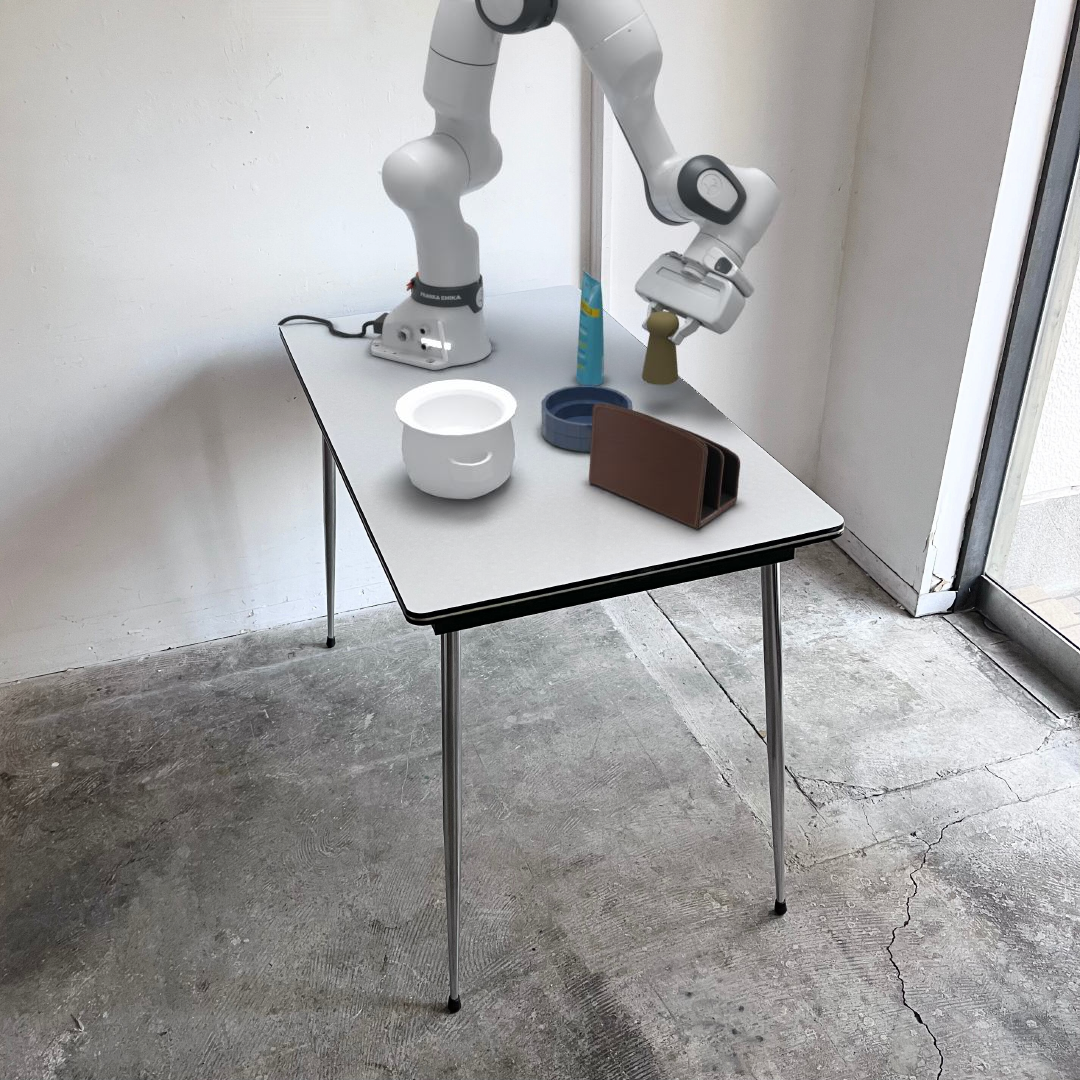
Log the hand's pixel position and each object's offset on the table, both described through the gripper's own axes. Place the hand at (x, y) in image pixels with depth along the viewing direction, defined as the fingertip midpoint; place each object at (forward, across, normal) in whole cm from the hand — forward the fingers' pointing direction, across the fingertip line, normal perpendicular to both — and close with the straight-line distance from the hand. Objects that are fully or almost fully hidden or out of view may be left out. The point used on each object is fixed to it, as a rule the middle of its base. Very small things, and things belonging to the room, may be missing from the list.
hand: (659, 336), depth 175 cm
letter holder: (+22, +22, -3) cm, 31 cm away
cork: (+5, 0, +6) cm, 8 cm away
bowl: (+19, 0, -1) cm, 19 cm away
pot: (+37, +1, -18) cm, 41 cm away
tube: (+11, -16, +8) cm, 20 cm away
